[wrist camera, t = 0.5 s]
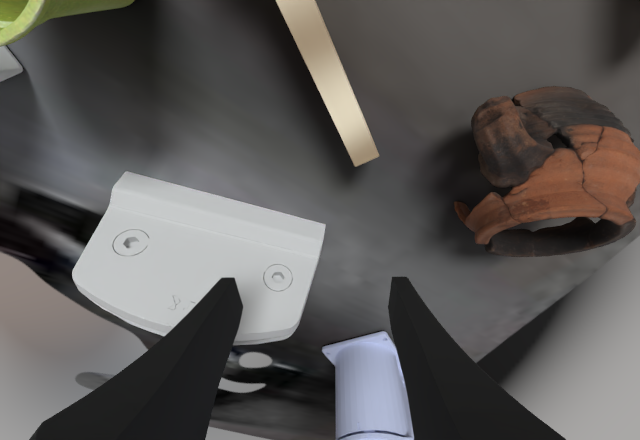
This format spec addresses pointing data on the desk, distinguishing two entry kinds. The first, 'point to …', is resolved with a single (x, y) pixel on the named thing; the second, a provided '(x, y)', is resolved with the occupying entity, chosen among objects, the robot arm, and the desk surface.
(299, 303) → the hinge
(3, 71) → the medicine bottle
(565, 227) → the pottery mug
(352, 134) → the cradle
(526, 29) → the desk surface
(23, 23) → the plant pot
